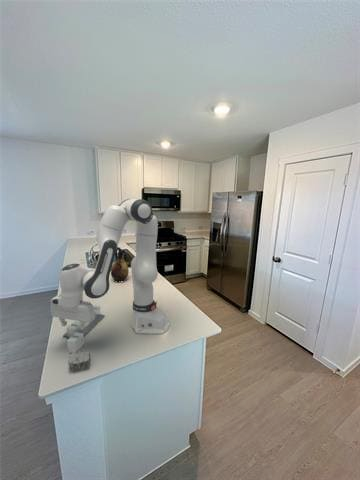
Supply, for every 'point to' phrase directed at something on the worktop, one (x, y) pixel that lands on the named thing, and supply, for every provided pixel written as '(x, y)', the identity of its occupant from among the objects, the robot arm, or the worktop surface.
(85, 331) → the rail plate
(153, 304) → the robot arm
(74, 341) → the block
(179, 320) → the worktop surface
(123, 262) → the ceramic jug
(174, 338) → the worktop surface
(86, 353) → the building frame
